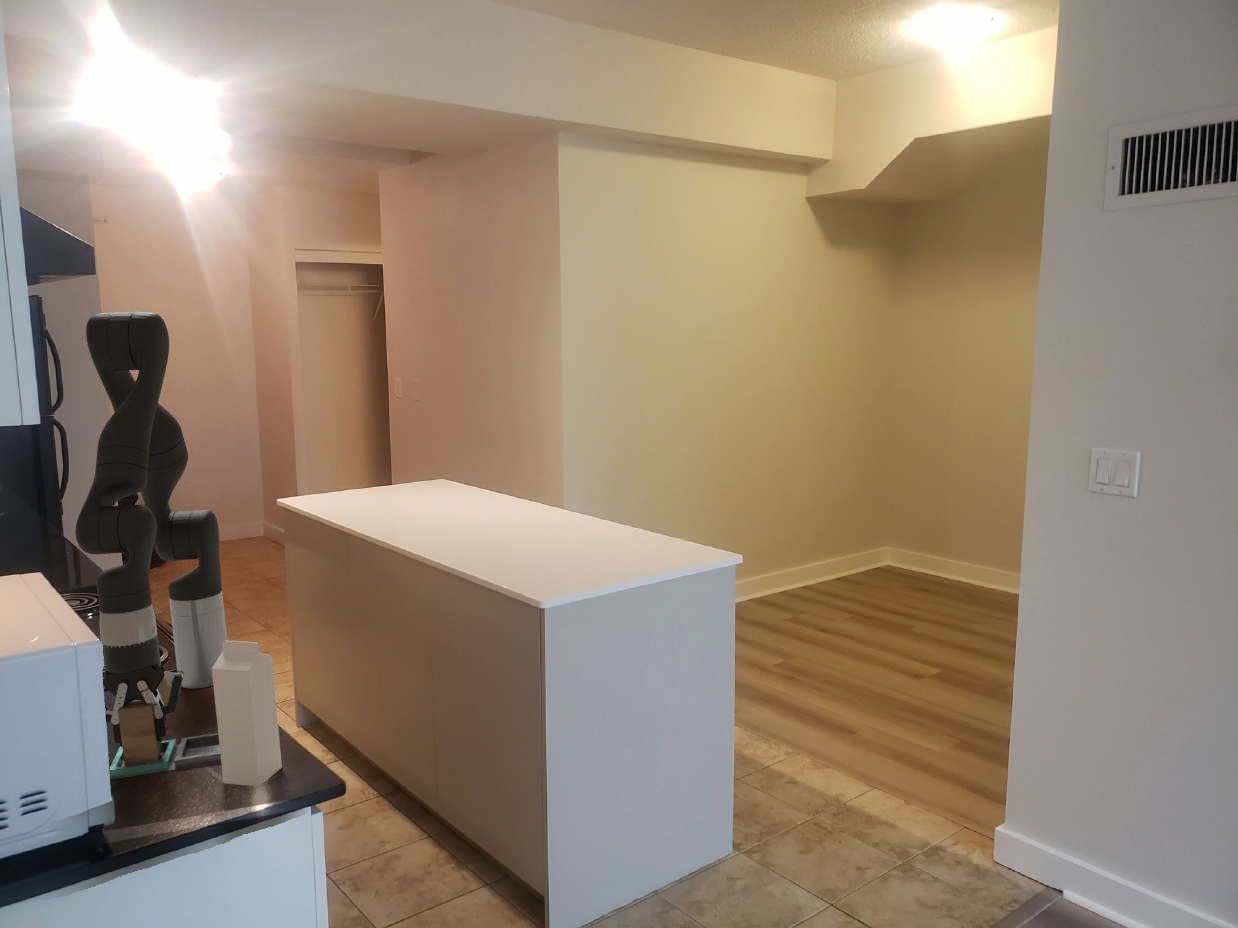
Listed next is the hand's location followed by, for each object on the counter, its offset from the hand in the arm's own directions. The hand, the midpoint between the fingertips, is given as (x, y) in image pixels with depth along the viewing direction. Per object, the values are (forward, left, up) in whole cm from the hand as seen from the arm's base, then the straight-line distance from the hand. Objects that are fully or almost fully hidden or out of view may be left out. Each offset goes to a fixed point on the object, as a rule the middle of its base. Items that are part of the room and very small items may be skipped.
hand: (141, 740), depth 143 cm
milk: (+10, +17, -5) cm, 20 cm away
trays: (0, +5, -5) cm, 6 cm away
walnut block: (0, 0, -3) cm, 3 cm away
